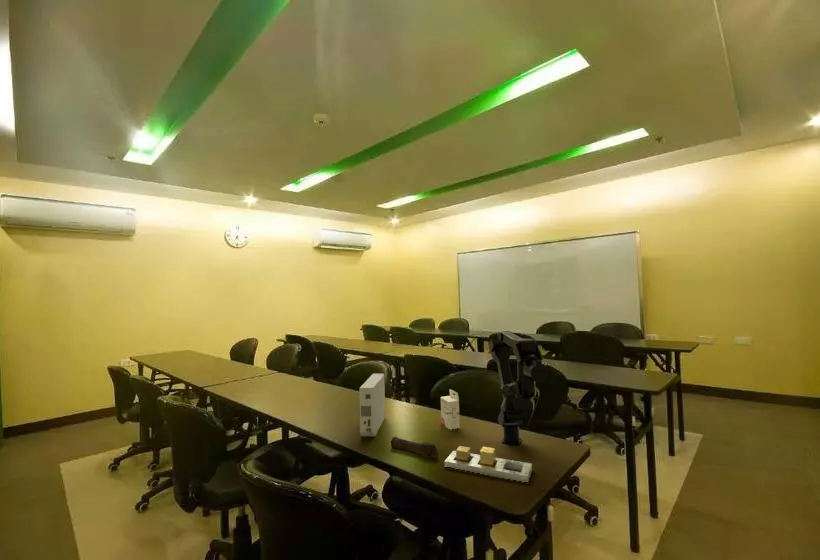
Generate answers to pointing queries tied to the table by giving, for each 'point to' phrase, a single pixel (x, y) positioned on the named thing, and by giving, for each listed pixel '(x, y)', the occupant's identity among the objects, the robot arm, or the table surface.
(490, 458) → the block
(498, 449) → the table surface
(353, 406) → the table surface
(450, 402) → the ink cartridge box
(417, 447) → the dark brown elongated piece
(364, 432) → the game console
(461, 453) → the white slotted tray
